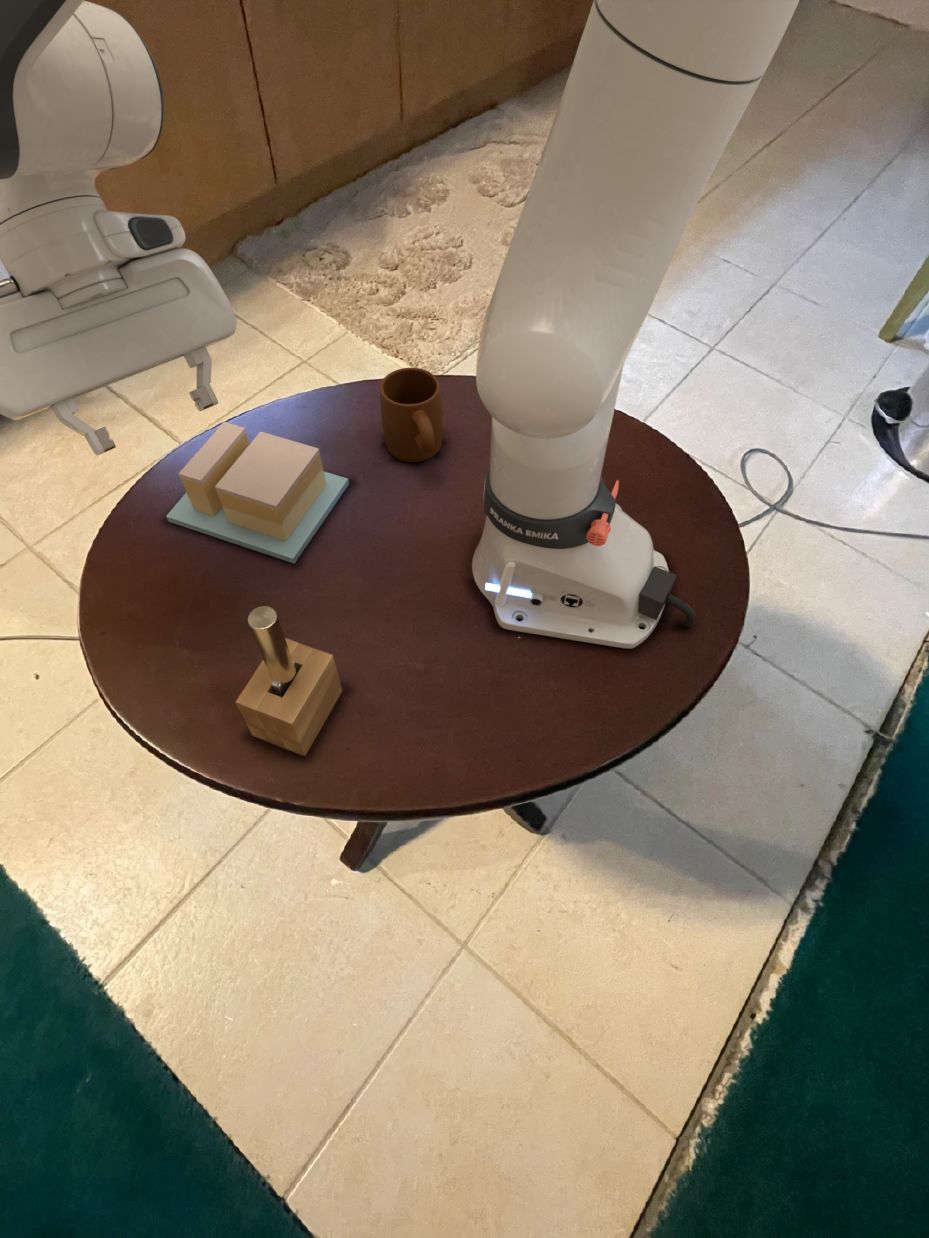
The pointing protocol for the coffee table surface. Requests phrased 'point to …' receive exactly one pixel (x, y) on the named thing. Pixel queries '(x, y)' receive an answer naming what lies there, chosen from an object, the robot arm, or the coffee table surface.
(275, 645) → the knife
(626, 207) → the robot arm
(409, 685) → the coffee table surface
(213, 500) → the cake slice
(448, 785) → the coffee table surface
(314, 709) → the knife block
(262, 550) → the cake
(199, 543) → the coffee table surface
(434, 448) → the mug
